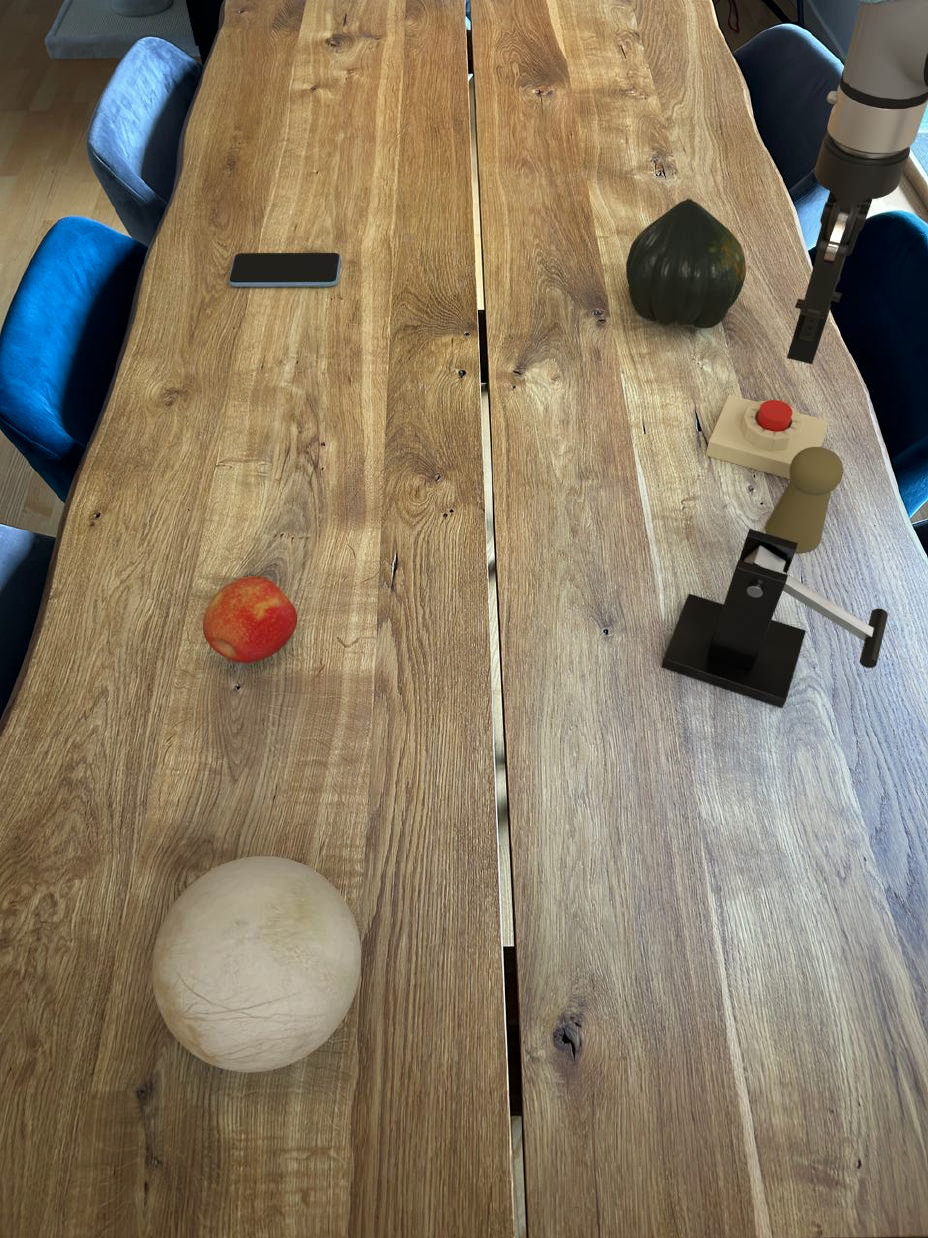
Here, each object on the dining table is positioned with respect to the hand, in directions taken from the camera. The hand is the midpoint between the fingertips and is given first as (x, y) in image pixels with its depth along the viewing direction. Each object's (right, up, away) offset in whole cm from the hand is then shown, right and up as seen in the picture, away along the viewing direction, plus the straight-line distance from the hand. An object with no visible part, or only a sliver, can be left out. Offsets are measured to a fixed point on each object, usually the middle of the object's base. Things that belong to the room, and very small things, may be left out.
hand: (800, 356), depth 108 cm
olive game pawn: (0, -19, +2) cm, 19 cm away
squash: (-8, +13, +27) cm, 31 cm away
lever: (-5, -27, -17) cm, 32 cm away
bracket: (-9, -31, -8) cm, 34 cm away
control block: (-1, -8, +11) cm, 13 cm away
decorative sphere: (-51, -58, -28) cm, 82 cm away
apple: (-57, -31, -7) cm, 65 cm away
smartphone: (-61, +20, +32) cm, 72 cm away
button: (-1, -5, +8) cm, 10 cm away
